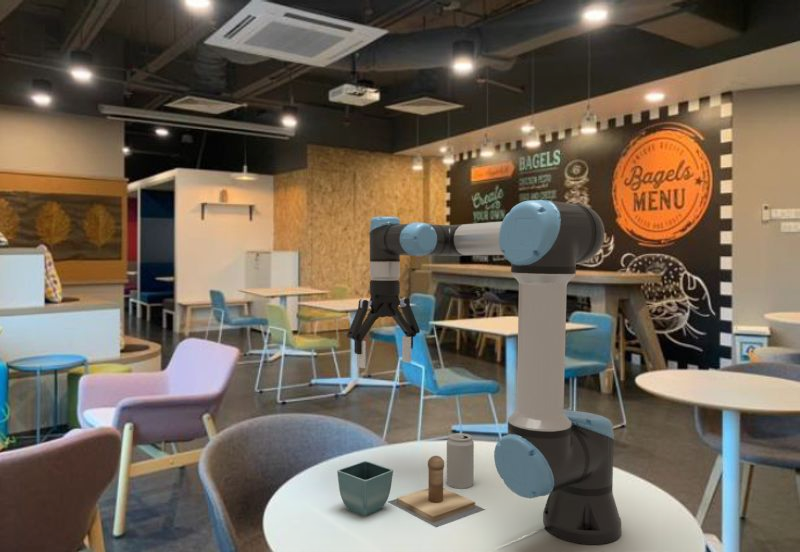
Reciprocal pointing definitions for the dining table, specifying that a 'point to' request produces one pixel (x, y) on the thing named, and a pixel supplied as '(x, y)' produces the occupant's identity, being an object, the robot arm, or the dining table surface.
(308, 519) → the dining table surface
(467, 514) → the mat
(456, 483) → the beverage can
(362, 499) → the flower pot
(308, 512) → the dining table surface
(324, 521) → the dining table surface
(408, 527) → the dining table surface
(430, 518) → the lid
